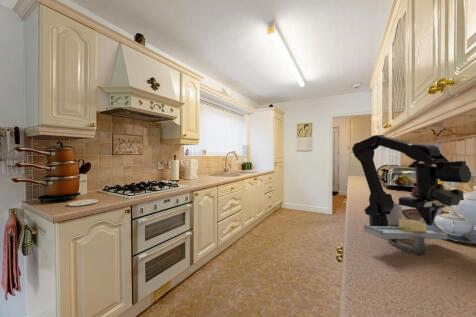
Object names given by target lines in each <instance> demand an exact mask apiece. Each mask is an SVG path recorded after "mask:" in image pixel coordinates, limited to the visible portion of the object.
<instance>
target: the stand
mask: <svg viewBox="0 0 476 317" xmlns="http://www.w3.org/2000/svg"><path fill="white" fill-rule="evenodd" d="M388 244H390V245H393V246H395V247H397V248H400V249H402V250H405V251H407V252H409V253H412V254H414V255H417V256H419V257H420V256H421V257H422V256H425V255H426V243H425V239H424V237H421V236H420V237H415V240H414V246H412V245H409V244H407V243H404V242H402V241H399V240H398V239H388Z"/></svg>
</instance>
